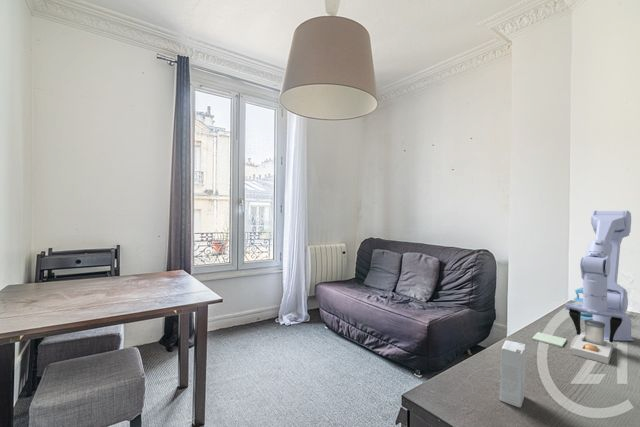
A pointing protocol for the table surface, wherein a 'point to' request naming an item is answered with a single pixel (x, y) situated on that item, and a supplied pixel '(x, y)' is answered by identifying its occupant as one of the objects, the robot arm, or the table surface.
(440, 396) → the table surface
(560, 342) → the mat
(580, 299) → the chair
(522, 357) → the skincare box
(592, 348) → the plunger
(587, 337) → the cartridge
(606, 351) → the housing
